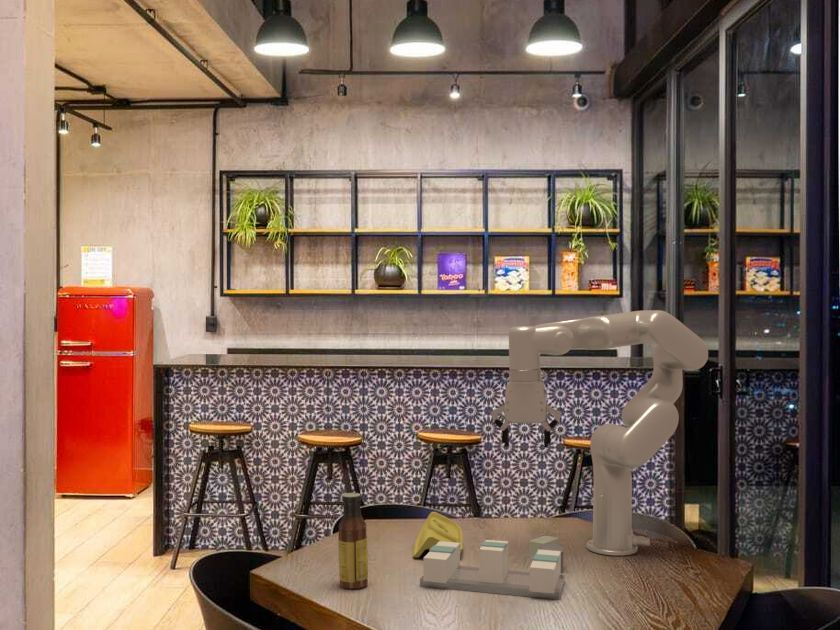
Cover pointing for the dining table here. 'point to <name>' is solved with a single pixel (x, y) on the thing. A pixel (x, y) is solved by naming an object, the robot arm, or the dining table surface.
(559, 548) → the block
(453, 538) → the plastic component
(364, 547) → the sauce bottle
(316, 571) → the dining table surface
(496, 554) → the block
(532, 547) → the block
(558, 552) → the mounted module
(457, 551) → the block
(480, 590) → the rail
